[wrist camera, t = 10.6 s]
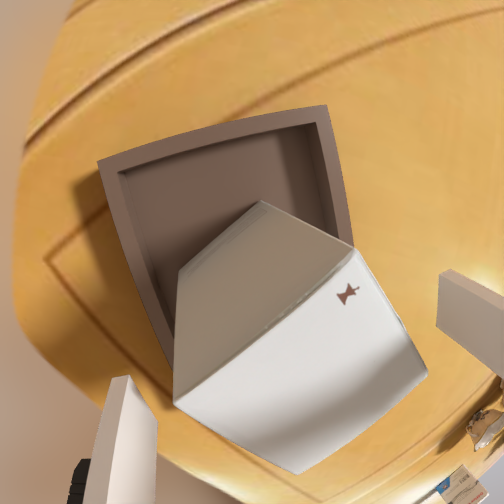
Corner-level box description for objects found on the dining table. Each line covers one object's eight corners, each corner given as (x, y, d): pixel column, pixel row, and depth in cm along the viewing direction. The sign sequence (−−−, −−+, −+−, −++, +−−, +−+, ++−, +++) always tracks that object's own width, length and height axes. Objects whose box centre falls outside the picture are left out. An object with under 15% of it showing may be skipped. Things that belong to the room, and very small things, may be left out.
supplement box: (174, 270, 20) (160, 402, 8) (261, 196, 20) (364, 240, 8) (244, 340, 22) (295, 481, 10) (323, 276, 22) (436, 375, 10)
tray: (109, 162, 18) (96, 161, 16) (309, 112, 20) (326, 104, 17) (197, 399, 24) (199, 423, 22) (349, 350, 26) (364, 368, 23)
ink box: (438, 490, 46) (460, 519, 35) (434, 487, 45) (458, 519, 33) (465, 466, 46) (489, 494, 35) (463, 463, 44) (489, 493, 33)
